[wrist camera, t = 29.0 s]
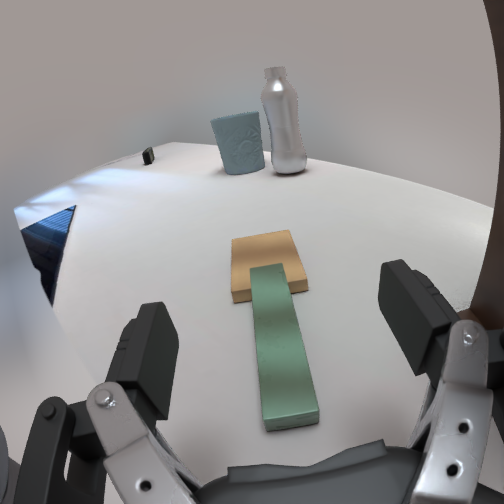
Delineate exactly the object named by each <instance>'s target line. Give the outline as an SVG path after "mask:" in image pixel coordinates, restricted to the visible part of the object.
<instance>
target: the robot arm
mask: <svg viewBox="0 0 504 504" xmlns="http://www.w3.org/2000/svg"><path fill="white" fill-rule="evenodd" d="M378 303H379V307H380V310H381V312H382V314H383V316H384V318H385V319H386V321H387V323H388V325H389V327H390V328H391V330H392V332H393V334H394V336H395V338H396V339H397V341H398V343H399V345H400V347H401V349H402V351H403V353H404V355H405V357H406V358H407V360H408V362H409V364H410V366H411V368H412V370H413V372H414V374H415V376H418V375H421V374H423V373H427V375H428V377H429V379H430V380H429V383H428V386H427V390H426V394H425V397H424V401H423V405H422V408H421V411H420V415H419V418H418V421H417V424H416V427H415V429H414V431H413V433H412V435H411V437H410V440H409V442H408V444H407V446H406V448H405V447H394V446H388V447H385V443H384V440H383V439H381V440H377V441H374V442H371V443H367V444H364V445H360V446H357V447H353V448H349V449H346V450H344V451H342V452H340V453H338V454H336V455H334V456H332V457H330V458H327V459H325V460H323V461H321V462H319V463H316V464H314V465H312V466H308V467H299V466H284V465H273V464H260V465H250V466H236V467H228V475H227V476H223V477H221V478H218V479H215V480H213V481H211V482H209V483H207V484H206V485H204V486H203V485H202V484H201V483H200V482H199V481H198V480H197V478H196V477H195V476H194V475H193V474H192V473H191V472H190V471H189V470H188V469H187V468H186V467H185V465H184V464H183V463H182V462H181V460H180V459H179V458H178V456H177V455H176V454H175V452H174V451H173V450H172V448H171V447H170V445H169V444H168V443H167V441H166V440H165V438H164V437H163V436H162V434H161V433H160V431H159V430H158V429H157V428H156V420H168V414H169V406H170V399H171V392H172V386H173V379H174V373H175V367H176V360H177V354H178V348H179V340H178V334H177V331H176V329H175V327H174V325H173V322H172V320H171V318H170V316H169V313H168V311H167V309H166V306H165V305H164V303H163V302H154V303H147V304H142V305H141V307H140V310H139V313H138V315H137V318H136V319H131V321H130V322H129V323H128V324H127V325H126V327H125V328H124V329H123V332H122V334H121V337H120V342H118V345H117V348H116V349H117V351H115V353H114V356H113V359H112V362H111V365H110V368H109V371H108V374H107V377H106V380H105V382H104V383H101V384H99V385H97V386H96V387H95V388H94V389H93V390H92V391H91V392H90V394H89V395H88V397H87V400H85V401H82V402H78V403H74V404H70V405H67V404H66V403H65V401H64V400H63V399H61V398H60V397H55V396H54V397H50V398H48V399H46V400H44V401H43V402H42V403H41V404H40V406H39V407H38V409H37V412H36V415H35V418H34V421H33V424H32V427H31V430H30V434H29V437H28V441H27V444H26V448H25V451H24V455H23V459H22V463H21V467H20V471H19V476H18V481H17V486H16V491H15V496H14V502H13V504H104V493H105V483H106V474H107V473H108V475H109V477H110V479H111V481H112V483H113V485H114V486H115V488H116V490H117V492H118V494H119V496H120V497H121V499H122V501H123V502H124V504H504V494H502V493H500V492H498V491H495V490H493V489H491V488H489V487H487V486H485V485H482V484H480V483H478V479H479V475H480V471H481V467H482V463H483V459H484V454H485V450H486V445H487V439H488V434H489V428H490V421H491V414H492V416H493V418H494V420H495V423H496V425H497V427H498V430H499V432H500V435H501V437H502V440H503V442H504V327H503V329H497V330H485V328H484V327H483V326H482V325H480V324H479V323H477V322H475V321H472V320H462V319H461V318H460V317H459V315H458V314H457V313H456V312H455V310H454V309H453V308H452V306H451V305H450V304H449V303H448V301H447V300H446V299H445V298H444V296H443V295H442V294H440V291H439V290H438V289H437V288H436V287H434V284H433V283H432V282H431V281H430V279H429V278H428V277H427V276H426V275H424V274H422V273H421V272H419V271H417V270H411V269H410V267H409V266H408V265H407V264H406V263H405V262H404V260H402V259H399V260H395V261H390V262H385V263H383V264H382V266H381V273H380V283H379V292H378ZM68 451H70V452H71V458H70V463H69V469H68V474H67V480H65V478H64V467H65V462H66V458H67V453H68Z"/></svg>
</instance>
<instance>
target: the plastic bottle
mask: <svg viewBox="0 0 504 504" xmlns="http://www.w3.org/2000/svg"><path fill="white" fill-rule="evenodd" d="M264 71H265V79H267V83H266V85H265V86H264V89H263V91H262V93H261V101H262V103H263V107H264V110H265V113H266V116H267V120H268V125H269V129H270V135H271V147H272V151H271V162H272V165H273V168H274V169H275V170H276V172H278V173H295V172H299V171H302V170H303V169H304V168H305V166H306V163H307V156H306V153H305V149H304V147H303V143H302V139H301V134H300V130H299V124H298V103H297V102H298V101H297V92H296V90H295V89H294V88H293V86H292V85H291V84H290V83H289V82H288V81H287V80H286V78H285V77H286V76H287V74H286V71H285V67H273V68H267V69H265V70H264Z"/></svg>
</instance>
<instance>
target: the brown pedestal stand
mask: <svg viewBox="0 0 504 504" xmlns="http://www.w3.org/2000/svg"><path fill="white" fill-rule="evenodd" d="M483 2H484V5H485V9H486V12H487V17H488V21H489V25H490V30H491V34H492V39H493V45H494V50H495V57H496V64H497V73H498V82H499V95H500V119H501V138H500V139H501V140H500V162H499V174H498V184H497V193H496V200H495V207H494V213H493V219H492V225H491V230H490V235H489V240H488V244H487V249H486V253H485V257H484V261H483V265H482V269H481V272H480V276H479V279H478V283H477V286H476V289H475V292H474V296H473V299H472V302H471V305H470V308H468V309H466V310H463V311H460V312H457V314H458V315H459V317H460V318H461V319H462V320H472V321H475V322H477V323H479V324H480V325H482V326H483V327H484V328H485V330H497V329H503V327H504V0H483Z"/></svg>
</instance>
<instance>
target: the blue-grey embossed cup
mask: <svg viewBox="0 0 504 504" xmlns="http://www.w3.org/2000/svg"><path fill="white" fill-rule="evenodd" d="M211 125H212V128H213V131H214V134H215V137H216V140H217V144H218V148H219V150H220V154H221V158H222V161H223V165H224V169H225V172H226V173H227V174H230V175H238V174H246V173H251V172H255V171H258V170H260V169H262V168H264V166H265V162H264V154H263V149H262V140H261V128H260V120H259V112H258V111H254V112H247V113H242V114H236V115H231V116H226V117H221V118H217V119H213V120H211Z"/></svg>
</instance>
